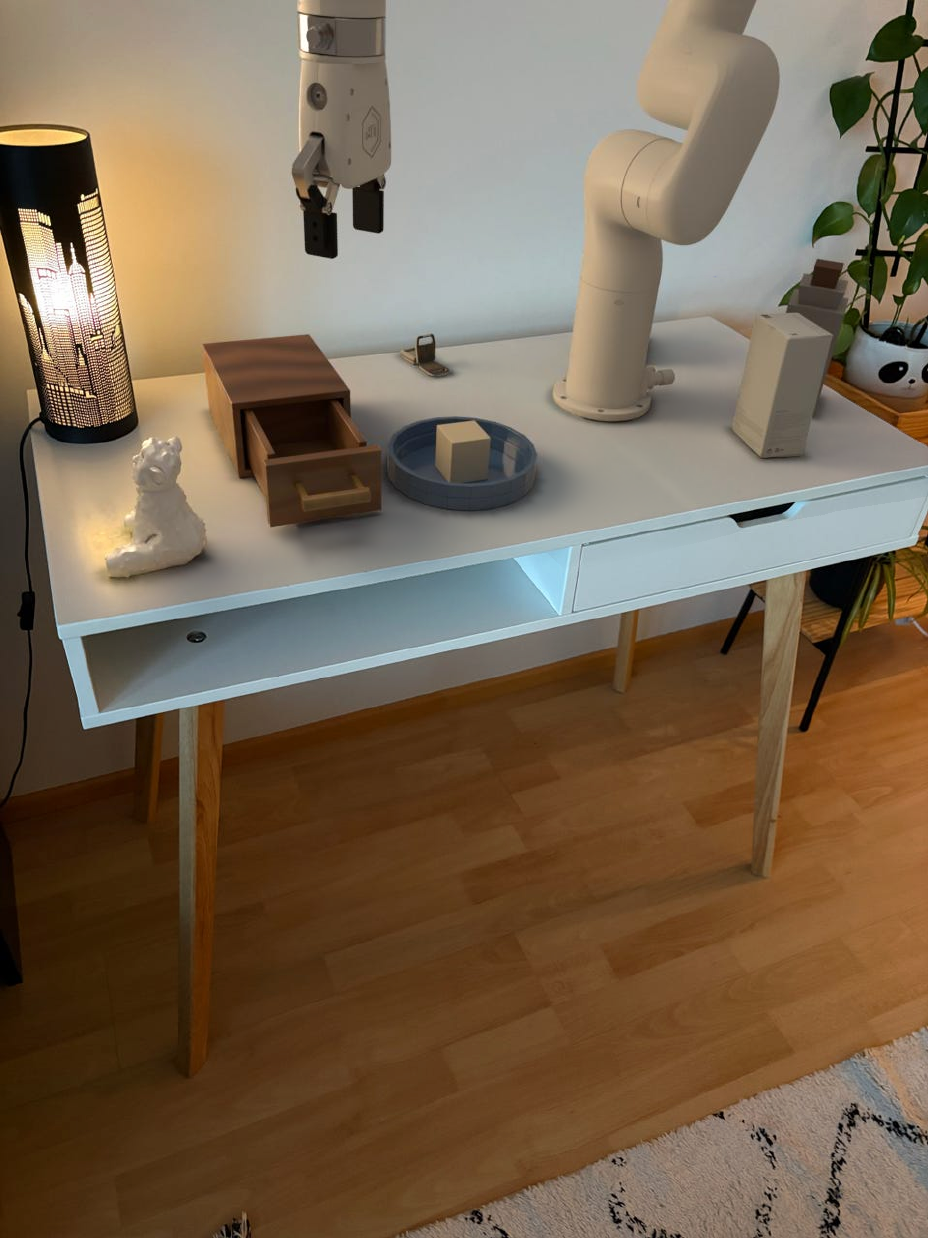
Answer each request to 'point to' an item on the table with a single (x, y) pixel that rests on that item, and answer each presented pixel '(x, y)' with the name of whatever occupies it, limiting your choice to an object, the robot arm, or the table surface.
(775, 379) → the cosmetic box
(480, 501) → the plate
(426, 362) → the strap clip
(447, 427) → the block
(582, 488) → the table surface
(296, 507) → the drawer
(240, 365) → the cabinet
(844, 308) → the perfume bottle
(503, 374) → the table surface
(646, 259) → the robot arm
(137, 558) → the sitting furry creature
